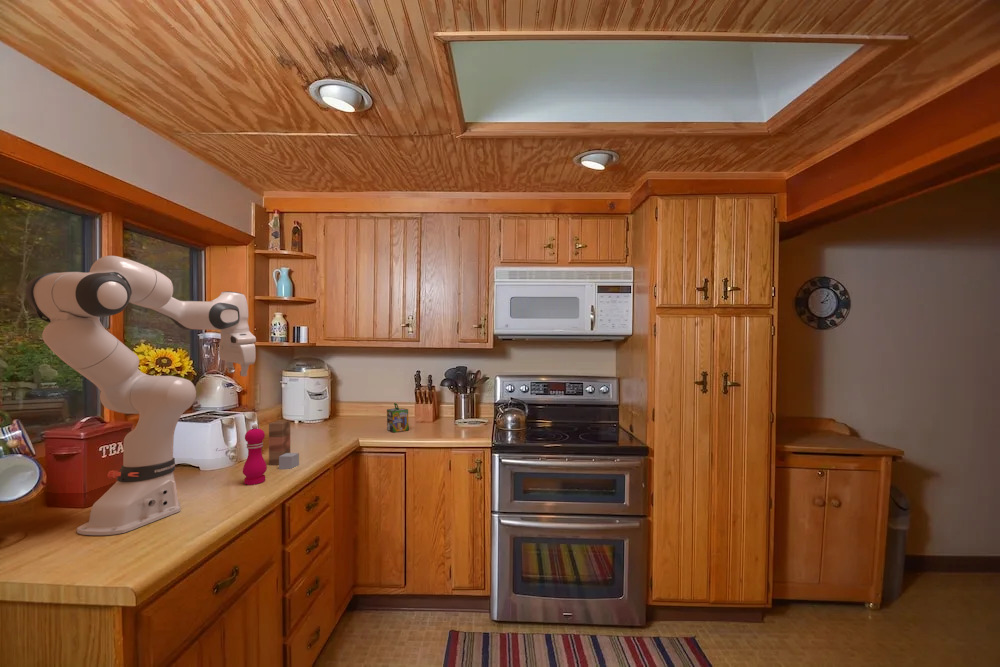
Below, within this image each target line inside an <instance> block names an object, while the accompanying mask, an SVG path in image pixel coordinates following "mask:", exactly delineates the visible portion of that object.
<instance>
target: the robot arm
mask: <svg viewBox="0 0 1000 667" xmlns="http://www.w3.org/2000/svg"><path fill="white" fill-rule="evenodd" d="M173 294H174V285H173V282H172V280H171V279H170V278H169V277H167V275H165V274H164V273H162V272H160V271H159V270H156V269H154V268H152V267H150V266H148V265H146V264H142V263H140V262H138V261H135V260H133V259H132V260H131V259H129V258H125V257H121V256H117V255H106V256H102V257H100V258H98V259H96V260H95V261H94V263H93V264H92V265H91V267H90V268H89V272H81V271H64V272H63V271H62V272H48V273H44V274H40V275H38V276H36V277H34V278H32V279H30V280H29V282H28V283H27V285H26V287H25V297H26V299H27V302H28V303H29V305H30V306H31V307H32V308H33V310H35V313H36V315H37V317H38V318H39V319H40V320H42V321H45V322H48V324H47V325H46V326H45V327H44V329H43V331H42V337H41V338H42V340H43V342H44V343H45V345H46V346H47V347H48V348H49V349H50V350H51V351H52V352H53V353H54V354H55V355H56V356H57V357H58V358H59V359H60V360H61V361H62V362H64V363H65V364H66V365H67V366H69V367H70V368H71V369H73V370H74V371H76V372H77V373H78V374H80V375H81V376H83V377H84V378H86V379H87V380H88V381H89V382H91V383H92V384H93V385H94V386H95V387H96V388H97V389H98V390H99V391H100V393H99V399H100V404H102V406H103V407H104V408H106V409H107V410H109V411H113V412H116V413H120V414H129V415H130V414H131V415H133V414H134V415H135V414H136V415H137V414H139V416H138V422H137V424H136V425H135V427H134V429H133V430H131V431H129V432H128V433H127V434H126V435H125V436H124V438H123V456H122V457H123V458H122V459H123V464H122V465H121V467H120V469H119V470H110V471H108V473H107V476H106V477H107V478H108V479H116V482H115V483H114V484H113V485H112V486H111V487H110V488H109V489H107V491H106V492H105V493H103V495H102V496H101V497H99V499H97V500H96V501H95V502H93V505H92V506H91V509H90V513H89V518H88V520H89V521H87V522H85V523H84V524H82V525H80V526H77V528H76V533H77V534H78V535H79V534H80V535H84V536H111V535H119V534H124V533H127V532H131V531H133V530H136V529H139V528H140V527H143V526H145V525H146V526H147V525H148V524H151V523H153V522H156V521H158V520H161V519H164V518H166V517H169V516H171V515H174V514H177V513H179V512H181V510H182V509H181V502H180V501H179V498H178V491H177V484H176V479H175V475H174V471H176V461H175V460H176V459H175V457H174V437H175V430H176V427H177V424H178V422H179V420H180V418H181V416H183V414H184V413H185V412H186V411H187V410H188V409H190V408H191V407H192V405H193V404H194V402H195V401H196V398H197V389H196V386H195V384H194V383H193V382H192V381H191V380H189V379H187V378H183V377H179V376H174V375H149V374H146V373H144V372H142V371H141V370H140V369H139V365H140V358H139V357H138V355H137V354H136V353H135V352H134V351H133V350H131V349H130V348H129V347H128V346H127V345H125V344H124V343H123V342H122V341H121V340H119V339H118V338H117V337H116V336H114V334H112V333H110V331H108V330H107V329H105V327H104V325H103V324H102V323H101V321H100V318H105V317H110V316H115V315H117V314H120V313H121V312H123V311H124V310H125V309H126V308H127V306H128V305H129V304H132V305H136V306H139V307H142V308H146V309H148V310H151V311H153V312H154V313H155V312H156V314H157V313H158V314H159V315H162V316H164V317H167V318H168V319H170V320H171V321H173V323H174V324H175V325H176V326H177V327H179V328H180V329H182V330H185V331H194V330H203V331H207V330H208V331H209V330H210V331H211V330H212V331H213V330H215V331H220V332H219V333H220V341H219V343H218V358H219V359H220V360H221V361H224V362H225V367H227V373H228V374H234V373H235V367H234V364H238V365H240V368H241V369H240V371H239V376H241V377H247V376H248V370H249V367H250V365H254V364H255V363H256V359H257V358H256V355H257V352H256V351H257V350H256V345H255V344H256V342H257V338H256V336H255V335H254V334H253V333H252V332H251V331H250V326H249V323H248V321H249V306H248V300H247V297H246V295H245V294H243V292H237V291H232V290H231V291H229V290H228V291H227V290H226V291H221V292H220V293H219V294H220V295H219V296H218V297H216V298H215V299H214V298H213V300H209V301H205V300H204V301H198V300H196V301H195V300H179V299H177V298H175V297H173Z"/></svg>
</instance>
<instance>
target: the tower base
mask: <svg viewBox="0 0 1000 667" xmlns="http://www.w3.org/2000/svg"><path fill="white" fill-rule="evenodd" d="M285 453H291V447H290V448H289V449H287V450H285V451H282V452H280V451H269V450H268V466H278V465H279V456H281V455H283V454H285Z"/></svg>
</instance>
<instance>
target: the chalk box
mask: <svg viewBox="0 0 1000 667" xmlns="http://www.w3.org/2000/svg"><path fill="white" fill-rule="evenodd" d="M393 405H394V408H388V409H386V428H387V431H389V432H390V433H392V434H395V433H399V432H406V431H407V432H408V431H409V430H410V429H409V425H410V422H409V409H408V408H406V407H399V405H398V403H396V402H394V403H393Z"/></svg>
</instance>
